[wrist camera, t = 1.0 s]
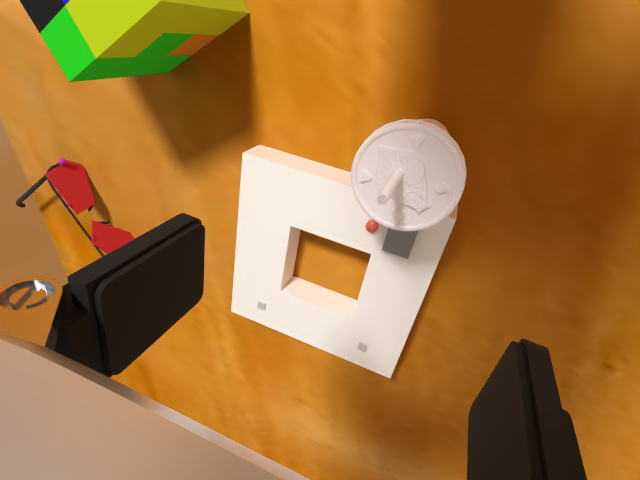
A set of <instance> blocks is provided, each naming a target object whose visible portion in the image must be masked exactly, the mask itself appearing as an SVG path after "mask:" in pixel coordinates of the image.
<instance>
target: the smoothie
mask: <svg viewBox="0 0 640 480" xmlns="http://www.w3.org/2000/svg"><path fill="white" fill-rule="evenodd" d="M466 174H467V172H466V165H465V159H464V156H463V154H462V152H461V150H460V148H459V146H458V144H457V143H456V142H455V140H454V139H453V138H452V137H451V136H450V135H449V132H448V130H447V129H446V127H445V126H444V125H443V124H442V123H440V122H439V121H437V120H434V119H429V118H425V119H419V120H415V119H402V120H398V121H395V122H391V123H387V124H386V125H384V126H382V127H380V128H379V129H377V130H375V131H374V132H373V133H372V134H371V135H370V136H369V137H368V138H367V139H366V140H365V141H364V143H363V144H362V145H361V147H360V148H359V150H358V151H357V153H356V155H355V158H354V161H353V164H352V170H351V183H352V189H353V192H354V195H355V198H356V200H357V202H358V203H359V205H360V207H361V208H362V209H363V211H364V212H365V213H366V214H367V215H368V216H369V217H370V218H372V219H373V220H374V221H376V222H377V223H379V224H381V225H383V226H385V227H387V228H390V229H394V230H399V231H418V230H423V229H427V228H429V227H432V226H434V225H436V224H438V223H439V222H441V221H442V220H444V219H445V218H446V217H447V216H448V215H449V214H450V213H451V212H452V211H453V210H454V208H455V207H456V205H457V204H458V202H459V200H460V198H461V195H462V192H463V190H464V188H465V181H466Z"/></svg>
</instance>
